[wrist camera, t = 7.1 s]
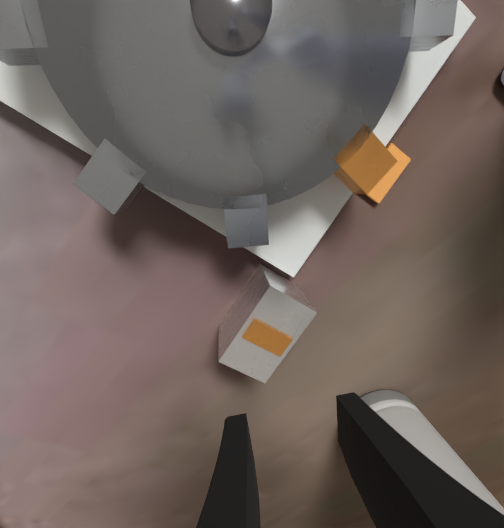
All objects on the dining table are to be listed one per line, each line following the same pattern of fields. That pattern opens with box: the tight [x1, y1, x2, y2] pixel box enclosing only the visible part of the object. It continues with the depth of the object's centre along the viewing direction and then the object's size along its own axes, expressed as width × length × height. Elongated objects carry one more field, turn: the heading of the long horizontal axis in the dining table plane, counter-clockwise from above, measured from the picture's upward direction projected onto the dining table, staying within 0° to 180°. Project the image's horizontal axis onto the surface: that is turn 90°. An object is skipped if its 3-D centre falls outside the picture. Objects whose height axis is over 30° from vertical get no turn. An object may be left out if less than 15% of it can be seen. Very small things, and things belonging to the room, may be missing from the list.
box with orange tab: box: [218, 263, 317, 383], centre depth 16 cm, size 3×5×4 cm, turn 147°
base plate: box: [0, 0, 476, 277], centre depth 13 cm, size 22×16×2 cm
